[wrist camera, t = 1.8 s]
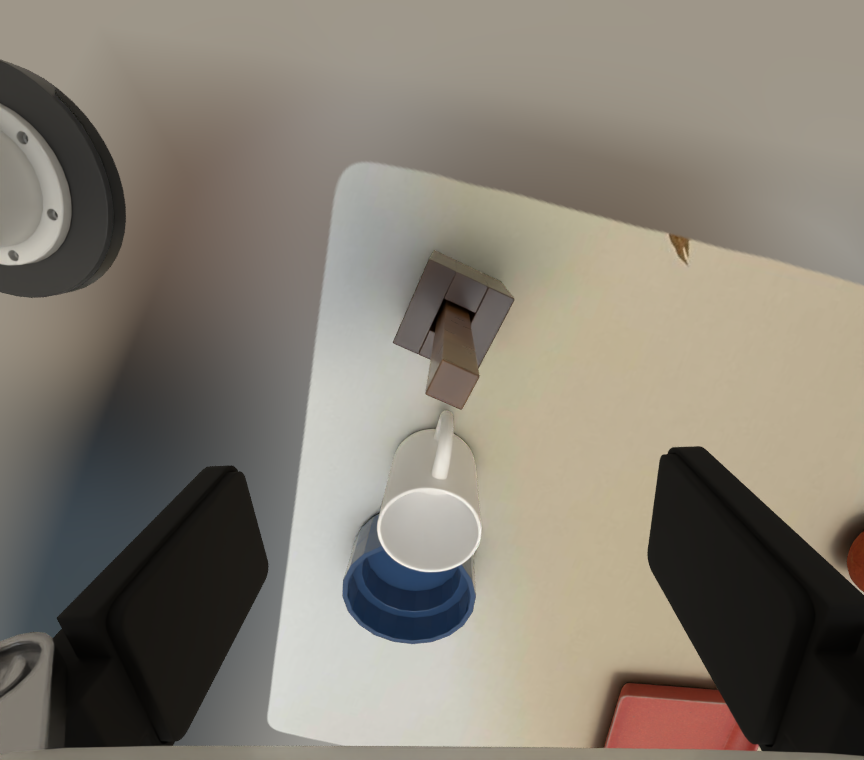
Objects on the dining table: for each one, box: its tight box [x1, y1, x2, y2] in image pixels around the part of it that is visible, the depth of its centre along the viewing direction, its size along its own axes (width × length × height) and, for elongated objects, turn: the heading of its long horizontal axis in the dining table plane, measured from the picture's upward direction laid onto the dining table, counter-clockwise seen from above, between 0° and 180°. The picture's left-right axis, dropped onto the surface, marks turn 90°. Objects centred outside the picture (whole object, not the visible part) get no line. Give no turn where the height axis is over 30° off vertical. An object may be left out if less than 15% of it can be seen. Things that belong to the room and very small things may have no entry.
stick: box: [426, 299, 479, 410], centre depth 28 cm, size 2×2×20 cm
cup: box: [377, 410, 482, 572], centre depth 38 cm, size 8×12×10 cm
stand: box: [393, 250, 514, 368], centre depth 33 cm, size 6×6×8 cm
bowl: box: [342, 514, 476, 644], centre depth 44 cm, size 13×13×6 cm
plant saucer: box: [604, 683, 759, 751], centre depth 54 cm, size 18×18×3 cm
